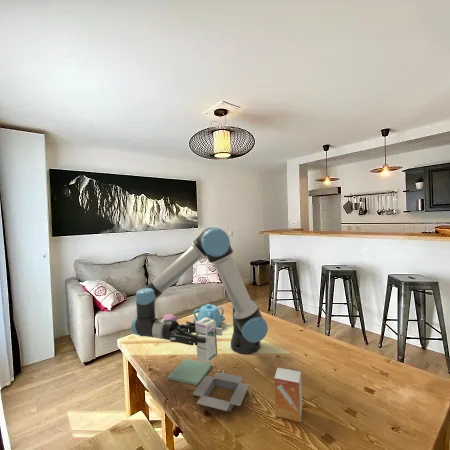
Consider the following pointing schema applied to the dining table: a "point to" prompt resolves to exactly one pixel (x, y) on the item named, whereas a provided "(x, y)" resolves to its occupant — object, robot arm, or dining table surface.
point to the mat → (190, 371)
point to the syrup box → (209, 329)
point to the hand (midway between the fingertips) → (218, 336)
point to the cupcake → (170, 317)
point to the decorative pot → (209, 314)
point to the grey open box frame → (224, 382)
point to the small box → (288, 394)
